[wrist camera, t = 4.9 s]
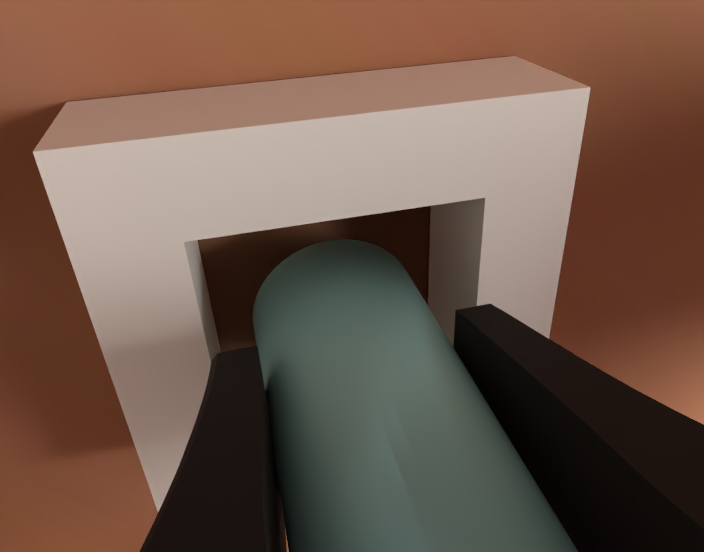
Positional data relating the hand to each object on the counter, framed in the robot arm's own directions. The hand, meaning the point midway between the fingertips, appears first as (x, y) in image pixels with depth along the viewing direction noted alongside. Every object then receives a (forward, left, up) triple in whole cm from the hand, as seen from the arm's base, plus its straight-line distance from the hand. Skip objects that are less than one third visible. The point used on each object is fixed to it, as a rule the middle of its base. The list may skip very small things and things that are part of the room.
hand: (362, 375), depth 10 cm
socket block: (0, 0, -3) cm, 3 cm away
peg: (0, 0, -2) cm, 2 cm away
